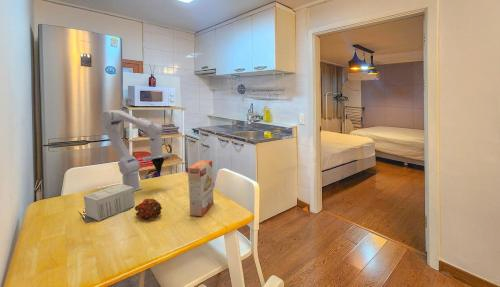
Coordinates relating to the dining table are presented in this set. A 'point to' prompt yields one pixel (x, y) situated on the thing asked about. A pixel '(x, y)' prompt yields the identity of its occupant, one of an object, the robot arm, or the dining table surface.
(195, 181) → the cracker box
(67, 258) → the dining table surface
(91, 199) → the supplement box
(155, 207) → the reddish-brown bumpy oval
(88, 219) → the mat
